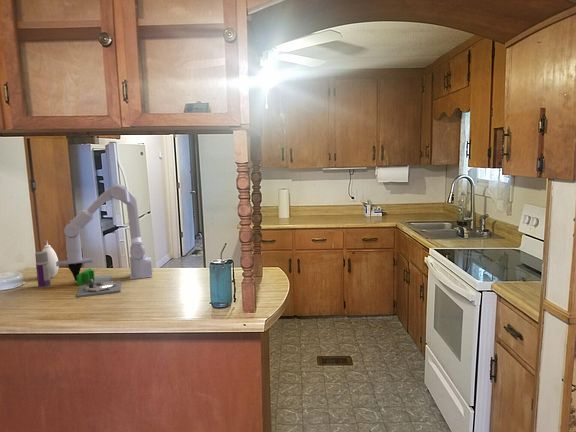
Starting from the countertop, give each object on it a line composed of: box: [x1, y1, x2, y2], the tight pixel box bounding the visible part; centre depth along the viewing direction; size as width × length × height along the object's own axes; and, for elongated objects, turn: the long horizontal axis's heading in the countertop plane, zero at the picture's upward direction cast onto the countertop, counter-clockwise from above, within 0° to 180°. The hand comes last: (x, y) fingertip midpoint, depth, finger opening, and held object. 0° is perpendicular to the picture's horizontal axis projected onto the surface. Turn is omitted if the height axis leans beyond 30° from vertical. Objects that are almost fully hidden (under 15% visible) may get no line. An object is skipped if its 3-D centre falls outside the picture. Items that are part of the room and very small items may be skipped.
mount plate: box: [76, 280, 122, 298], centre depth 171 cm, size 16×15×1 cm
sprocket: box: [83, 279, 116, 292], centre depth 171 cm, size 12×12×4 cm
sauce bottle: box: [41, 241, 60, 279], centre depth 190 cm, size 8×8×18 cm
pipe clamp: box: [76, 268, 96, 287], centre depth 183 cm, size 11×4×5 cm, turn 179°
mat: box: [93, 275, 112, 283], centre depth 185 cm, size 7×13×1 cm, turn 22°
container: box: [34, 251, 52, 289], centre depth 177 cm, size 5×5×15 cm
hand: (76, 280), depth 181 cm, fingers closed
